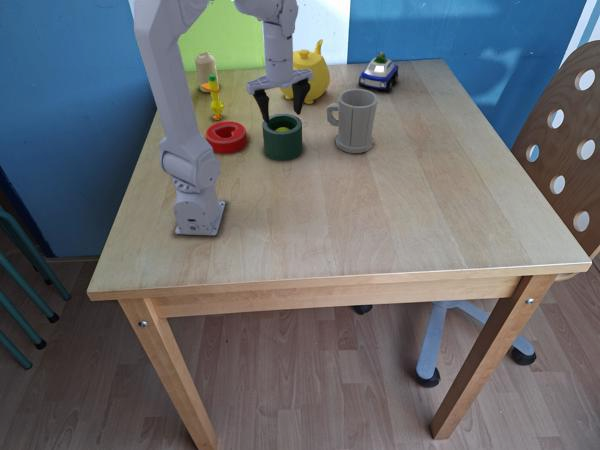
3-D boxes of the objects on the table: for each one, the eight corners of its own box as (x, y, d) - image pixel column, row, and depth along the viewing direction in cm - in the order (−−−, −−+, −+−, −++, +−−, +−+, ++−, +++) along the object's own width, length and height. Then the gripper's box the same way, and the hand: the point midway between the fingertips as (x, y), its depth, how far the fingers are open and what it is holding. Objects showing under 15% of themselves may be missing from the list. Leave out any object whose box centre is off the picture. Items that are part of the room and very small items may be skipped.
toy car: (355, 89, 122) (358, 57, 116) (370, 73, 130) (373, 42, 123) (386, 96, 119) (390, 63, 112) (399, 79, 127) (404, 47, 120)
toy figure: (202, 117, 112) (194, 73, 104) (211, 111, 114) (204, 68, 106) (222, 124, 110) (215, 79, 101) (231, 118, 112) (224, 74, 103)
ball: (297, 150, 100) (297, 131, 96) (278, 155, 98) (277, 136, 95) (288, 140, 103) (288, 121, 100) (269, 144, 101) (268, 126, 98)
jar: (301, 161, 97) (300, 134, 93) (262, 160, 98) (259, 133, 93) (303, 139, 104) (303, 114, 99) (266, 138, 104) (264, 113, 99)
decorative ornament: (207, 134, 106) (204, 123, 104) (245, 129, 107) (243, 118, 105) (208, 155, 99) (206, 144, 97) (249, 150, 101) (247, 139, 98)
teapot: (341, 83, 125) (343, 41, 116) (311, 114, 112) (311, 69, 104) (300, 75, 130) (300, 33, 121) (267, 104, 117) (264, 59, 108)
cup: (336, 158, 98) (338, 111, 90) (324, 137, 104) (325, 92, 96) (378, 150, 100) (384, 104, 92) (363, 131, 106) (368, 85, 98)
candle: (196, 91, 123) (190, 57, 116) (205, 82, 127) (199, 49, 120) (214, 93, 122) (208, 59, 115) (222, 85, 125) (217, 51, 119)
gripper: (252, 71, 80) (258, 133, 90) (319, 56, 85) (318, 117, 94) (239, 57, 85) (246, 118, 95) (304, 44, 90) (304, 103, 99)
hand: (281, 116), depth 95 cm, fingers open, 7 cm apart
